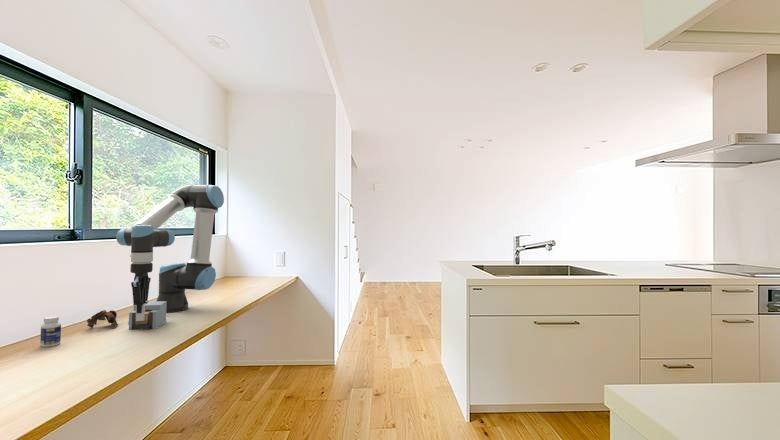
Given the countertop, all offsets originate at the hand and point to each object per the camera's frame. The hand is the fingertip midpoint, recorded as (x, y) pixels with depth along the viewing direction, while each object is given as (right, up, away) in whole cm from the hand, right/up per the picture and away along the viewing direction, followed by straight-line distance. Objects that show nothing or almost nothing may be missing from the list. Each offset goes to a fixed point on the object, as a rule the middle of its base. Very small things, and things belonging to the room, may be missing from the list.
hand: (140, 320), depth 153 cm
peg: (-2, -2, +7) cm, 7 cm away
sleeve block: (-2, -4, +8) cm, 9 cm away
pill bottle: (-19, -4, -19) cm, 27 cm away
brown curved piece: (-18, -4, +4) cm, 19 cm away
